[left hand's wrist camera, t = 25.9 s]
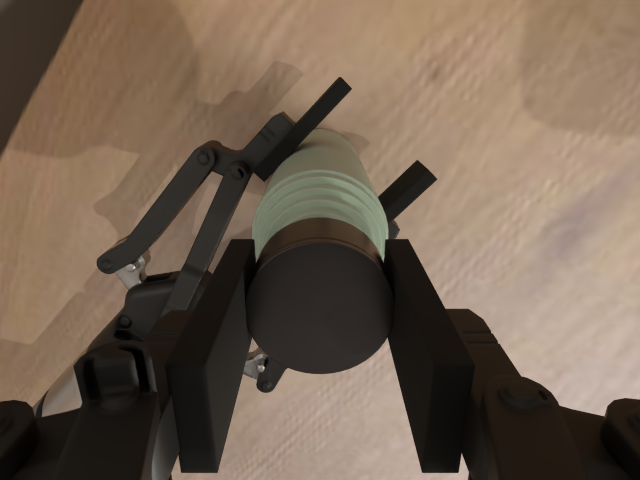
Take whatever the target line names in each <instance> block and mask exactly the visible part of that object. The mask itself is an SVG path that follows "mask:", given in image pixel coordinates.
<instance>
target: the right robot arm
mask: <svg viewBox="0 0 640 480" xmlns="http://www.w3.org/2000/svg"><path fill="white" fill-rule="evenodd" d="M351 89H352V88H351V87H350V86H349V85H348V84H347V83H346V82H345V81H344V80H343V79H342V78H341V77H339V78H338V79H337V80H336V81H335V82H334V83H333V84H332V85H331V86H330V87H329V88H328V90H327V91H326V92H325V93H324V94H323V95H322V96H321V97H320V98H319V99H318V100H317V101H316V102H315V104H314V105H313V106H312V107H311V108H310V109H309V110H308V111H307V112H306V113H305V114H304V115H303V117H302V118H301V119H300V120H299V121H298V122H297V123H295V122H294V121H293V120H292V119H291V118H290V117H289V116H288V115H287V114H286V113H285V112H281V113H279V114H277V115H275V116H273V117H272V118H271V119H270V121H269V122H268V123H267V124H266V125H265V126H264V127H263V128H262V129H261V131H260V132H259V133H258V134H257V135H256V136H255V137H254V138H253V139H252V141H251V142H250V143H249V144H248V145H247V146H246V147H245V148H244V149H242V150H232V149H229V148H227V147H225V146H222V144H221V143H220V142H218V141H214V140H211V141H208V142H207V143H205V144H203V145H202V146H200V147H198V148H197V149H196V150H194V152H193V153H192V154H191V156H190V157H189V158H188V159H187V161H186V162H185V163H184V165H183V166H182V167H181V169H180V170H179V171H178V173H177V174H176V175H175V177H174V178H173V179H172V180H171V182H170V183H169V184H168V186H167V187H166V188H165V190H164V191H163V192H162V194H161V195H160V196H159V197H158V199H157V200H156V201H155V203H154V204H153V205H152V207H151V208H150V209H149V211H148V212H147V213H146V215H145V216H144V217H143V218H142V220H141V221H140V222H139V224H138V225H137V226H136V228H135V229H134V230H133V232H132V233H131V234H130V235H128V236H127V237H125V238H123V239H121V240H120V241H118V242H117V243H116V244H115V245H113V246H112V247H111V248H110V249H108V250H107V251H106V252H105V253H104V254H102V255H101V256H100V257H99V258H98V259H97V267H98V268H99V270H100V271H102V272H103V273H106V274H112V273H114V272H115V273H116V275H117V276H118V277H119V278H120V280H121V281H122V282H123V283H124V285H125V286H126V287H127V288H128V292H127V294H126V298H125V305H124V307H123V309H122V310H121V311H120V312H119V313H118V314H117V315H116V316H115V317H114V318H113V320H112V321H111V322H110V323H109V324H108V325H107V326H106V327H105V328H104V329H103V330H102V331H101V333H100V334H99V335H98V336H97V337H96V338H95V339H94V340H93V341H92V343H91V344H90V345H89V347H88V348H86V349H85V350H84V351H83V352H82V353H81V355H80V356H79V357H78V358H77V359H76V360H75V361H74V362H73V363H72V364H71V365H70V366H69V367H68V368H67V369H66V371H65V372H64V373H63V374H62V375H61V376H60V377H59V378H58V379H57V380H56V381H55V382H54V383H53V384H52V386H51V387H50V389H49V390H48V391H47V392H46V393H45V395H44V396H43V397H42V398H41V399H40V400H39V401H38V402H37V403H36V404H35V405H34V406H33V407H32V408H33V411H34V414H35V418H40V417H44V416H49V415H53V414H58V413H62V412H67V411H70V410H74V409H77V408H80V407H81V404H82V399H81V395H80V391H79V387H78V383H77V379H76V375H75V371H74V367H73V365H74V364H75V363H76V362H77V360H78V359H79V358H80V357H81V356H83V355H84V354H85V353H87V352H88V351H90V350H91V349H94V348H96V347H98V346H101V345H103V344H106V343H110V342H115V341H120V340H134V341H138V342H143V341H144V339H145V338H146V336H147V335H149V332H150V330H151V329H152V327H153V326H154V324H155V323H156V321H157V320H158V319H160V318H161V317H163V316H164V315H165V314H167V313H168V312H170V311H171V310H194V309H195V307H196V305H197V303H198V301H199V299H200V297H201V296H202V294H203V292H204V290H205V288H206V286H207V284H208V282H209V281H210V279H211V277H212V275H213V274H212V273H211V272H209V271H208V268H209V266H210V264H211V262H212V260H213V257H214V255H215V252H216V250H217V248H218V246H219V244H220V242H221V240H222V237H223V235H224V233H225V231H226V229H227V227H228V225H229V222H230V220H231V218H232V216H233V214H234V212H235V210H236V207H237V205H238V203H239V201H240V199H241V197H242V195H243V192H244V190H245V188H246V186H247V184H248V182H249V180H250V177H251V175H252V174H253V173H255V174H256V175H257V176H258V177H259V178H261V179H262V180H263V181H264V182H265V180H266V179H267V178H268V177H269V176H270V175H271V174H272V173H273V172H274V171H275V170H276V169H277V168H278V167H279V166H280V165H281V163H282V162H283V161H284V160H285V159H286V158H287V157H288V156H289V155H290V154H291V153H292V152H293V151H294V150H295V149H296V148H297V147H298V146H299V144H300V143H301V142H302V141H303V140H304V139H305V138H306V137H307V136H308V135H309V134H310V133H311V132H312V131H313V130H314V129H315V127H316V126H317V125H318V124H319V123H320V122H321V121H322V120H323V119H324V118H325V117H326V116H327V115H328V114H329V113H330V112H331V111H332V109H333V108H334V107H335V106H336V105H337V104H338V103H339V102H340V101H341V100H342V99H343V98H344V97H345V96H346V95H347V94H348V93H349V91H350V90H351ZM212 171H213V172H215V173H218V174H220V175H222V176H223V179H222V181H221V183H220V185H219V188H218V190H217V192H216V194H215V197H214V199H213V201H212V203H211V206H210V208H209V210H208V212H207V215H206V217H205V219H204V221H203V224H202V226H201V228H200V230H199V233H198V235H197V237H196V239H195V242H194V244H193V246H192V248H191V251H190V253H189V255H188V257H187V260H186V262H185V264H184V266H183V267H182V269H181V271H175V272H169V273H163V274H157V275H150V276H146V274H145V267H146V265H147V264H148V263H149V262H150V259H151V257H150V251H149V250H148V248H149V247H150V246H151V245H152V244H153V243H154V242H155V241H156V240H157V239H158V238H159V237H160V236H161V235H162V233H163V232H164V231H165V230H166V228H167V227H168V226H169V225H170V223H171V222H172V221H173V220H174V218H175V217H176V216H177V214H178V213H179V212H180V211H181V209H182V208H183V207H184V206H185V204H186V203H187V202H188V201H189V199H190V198H191V197H192V196H193V194H194V193H195V192H196V190H197V189H198V188H199V187H200V185H201V184H202V183H203V182H204V180H205V179H206V178H207V177H208V175H209V174H210V173H211V172H212ZM436 180H437V178H436V177H435V176H434V175H433V174H432V173H431V172H430V171H429V170H428V169H427V168H426V167H425V166H424V165H423V164H421V163H420V162H419V161H418V160H417V161H416V162H415V163H413V164H412V165H411V166H410V167H409V168H408V169H407V170H406V171H405V172H404V173H403V174H402V175H401V176H400V177H399V178H398V179H397V180H396V181H394V182H393V183H392V184H391V185H390V186H389V187H388V188H387V189H386V190H385V191H384V192H383V193H382V194H381V195H380V196H379V197H378V199H379V201H380V203H381V205H382V207H383V210H384V212H385V215H386V219H387V223H388V239H395V238H396V237H397V235H398V233H399V231H400V229H399V227H398V225H397V223H396V222H395V221H394V219H395V218H396V217H397V216H398V215H399V214H400V213H401V212H402V211H403V210H404V209H406V208H407V207H408V206H409V205H410V204H411V203H412V202H413V201H414V200H415V199H416V198H418V197H419V196H420V195H421V194H422V193H423V192H424V191H425V190H426V189H427V188H428V187H430V186H431V185H432V184H433V183H434V182H435V181H436ZM286 369H287V367H285V366H283V365H281V364H279V363H278V362H276V361H275V360H273V359H271V358H270V357H269V356H268V355H267V354H265V353H264V352H263V351H262V349H261V348H260V347H258V348H257V349H256V350H255V351H253V352H248V356H247V359H246V363H245V367H244V371H243V374H245V375H247V376H250V377H252V378H254V379H257V384H256V385H257V388H258V390H260V391H261V392H265V393H267V392H271V391H272V390H273V389H274V388H275V386H276V385H277V383H278V381H279V380H280V378H281V376H282V375H283V373H284V371H285V370H286Z"/></svg>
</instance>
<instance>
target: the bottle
mask: <svg viewBox="0 0 640 480" xmlns="http://www.w3.org/2000/svg"><path fill="white" fill-rule="evenodd" d="M316 217H325V218H332V219H337V220H341V221H344V222H347V223H349V224H351V225H353V226H355V227H356V228H358V229H360V230H361V231H362V232H363V233H365V234H366V235H367V236H368V237H369V238H370V239H371V240H372V241H373V243H374V244H375V246H376V247H377V249H378V251H379V253H380V255H381V257H382V260H383V259H384V251H385V239H388V223H387V219H386V215H385V212H384V210H383V207H382V205H381V203H380V201H379V199H378V197H377V195H376V192H375V190H374V188H373V186H372V184H371V182H370V180H369V178H368V175H367V173H366V171H365V169H364V167H363V165H362V163H361V161H360V158H359V156H358V154H357V152H356V150H355V148H354V147H353V145H352V144H351V143H350V142H349V141H348V140H347V139H346V138H345V137H343V136H342V135H340V134H338V133H336V132H334V131H331V130H326V129H314V130H313V131H312V132H311V133H310V134H309V135H308V136H307V137H306V138H305V139H304V140H303V141H302V142H301V143H300V144H299V146H298V147H297V148H296V149H295V150H294V151H293V152H292V153H291V154H290V155H289V156H288V157H287V158H286V159H285V160H284V161H283V162H282V163H281V165H280V166H279V167H278V168H277V169H276V170H275V171H274V173H273V176H272V178H271V180H270V182H269V184H268V186H267V188H266V190H265V193H264V195H263V197H262V199H261V201H260V203H259V205H258V207H257V210H256V213H255V215H254V219H253V224H252V239H255V256H256V259H257V260H258V257H259V255H260V252H261V250H262V249H263V247H264V246H265V244H266V243H267V242H268V240H269V239H270V238H271V237H272V236H273V235H274V234H275V233H276V232H278V231H279V230H281V229H282V228H283V227H285V226H287V225H289V224H291V223H293V222H296V221H299V220H302V219H307V218H316Z"/></svg>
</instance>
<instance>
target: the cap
mask: <svg viewBox="0 0 640 480" xmlns="http://www.w3.org/2000/svg"><path fill="white" fill-rule="evenodd" d="M394 304H395V298H394V293H393V290H392V287H391V284H390V281H389V278H388V275H387V272H386V269H385V266H384V263H383V260H382V257H381V255H380V253H379V251H378V249H377V247H376V246H375V244H374V243H373V241H372V240H371V239H370V238H369V237H368V236H367V235H366V234H365V233H363V232H362V231H361V230H360V229H358V228H356V227H355V226H353V225H351V224H349V223H347V222H344V221H341V220H337V219H332V218H325V217H316V218H307V219H302V220H299V221H296V222H293V223H291V224H289V225H287V226H285V227H283V228H282V229H281V230H279V231H278V232H276V233H275V234H274V235H273V236H272V237H271V238H270V239H269V240H268V242H267V243H266V244H265V246H264V247H263V249H262V250H261V252H260V255H259V257H258V260H257V263H256V266H255V269H254V272H253V275H252V277H251V280H250V284H249V286H248V290H247V293H246V297H245V309H246V322H247V326H248V329H249V331H250V333H251V335H252V337H253V339H254V340H255V342H256V343H257V345H258V346H259V347H260V348H261V349H262V351H263V352H264V353H265V354H267V355H268V356H269V357H270V358H271V359H273V360H275V361H276V362H278V363H279V364H281V365H283V366H285V367H287V368H290V369H293V370H296V371H300V372H304V373H311V374H328V373H335V372H341V371H344V370H347V369H350V368H352V367H355V366H357V365H359V364H361V363H362V362H364V361H366V360H367V359H368V358H370V357H371V356H372V355H373V354H374V353H375V352H376V351H378V350H379V348H380V347H381V346H382V345H383V343H384V342H385V340H386V339H387V337H388V335H389V333H390V331H391V329H392V326H393V319H394Z"/></svg>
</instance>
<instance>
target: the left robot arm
mask: <svg viewBox="0 0 640 480" xmlns="http://www.w3.org/2000/svg"><path fill="white" fill-rule="evenodd" d="M255 266H256V256H255V239H231V241H230V243H229V245H228V247H227V249H226V251H225V252H224V254H223V256H222V258H221V260H220V262H219V264H218V266H217V267H216V269H215V271H214V273H213V275H212V277H211V279H210V281H209V282H208V284H207V286H206V288H205V290H204V292H203V294H202V296H201V297H200V299H199V301H198V303H197V305H196V307H195V309H194V310H171V311H170V312H168V313H167V314H165V315H164V316H163V317H161V318H160V319H158V320H157V321H156V323H155V324H154V326H153V327H152V329H151V330H150V332H149V335H147V336H146V338H145V339H144V341H143V342H138V341H134V340H120V341H115V342H110V343H106V344H103V345H101V346H98V347H96V348H94V349H91V350H90V351H88V352H87V353H85V354H84V355H83V356H81V357H80V358H79V359H78V360H77V362H76V363H75V364H74V365H73V367H74V371H75V375H76V379H77V383H78V387H79V391H80V395H81V399H82V404H81V407H80V408H77V409H74V410H70V411H67V412H62V413H58V414H53V415H49V416H44V417H40V418H35V414H34V411H33V408H32V407H31V406H30V405H29V404H28V403H26V402H22V401H17V400H11V401H2V402H0V480H172V476H171V472H172V470H173V467H174V464H175V461H176V459H177V456H178V455H179V461H180V468H181V473H218V469H219V465H220V461H221V457H222V453H223V449H224V445H225V441H226V437H227V434H228V430H229V426H230V422H231V418H232V414H233V410H234V406H235V402H236V398H237V395H238V391H239V387H240V383H241V379H242V375H243V371H244V367H245V363H246V359H247V356H248V352H249V348H250V344H251V340H252V335H251V333H250V331H249V329H248V326H247V322H246V309H245V297H246V293H247V290H248V286H249V284H250V280H251V277H252V275H253V272H254V269H255ZM384 266H385V269H386V272H387V275H388V278H389V281H390V284H391V287H392V290H393V293H394V298H395V304H394V319H393V326H392V329H391V331H390V333H389V335H388V341H389V345H390V349H391V353H392V357H393V361H394V364H395V368H396V372H397V376H398V380H399V384H400V388H401V392H402V396H403V400H404V404H405V407H406V411H407V415H408V419H409V423H410V427H411V431H412V435H413V439H414V443H415V446H416V450H417V454H418V458H419V462H420V466H421V470H422V473H458V472H459V466H460V459H461V453H462V455H463V457H464V460H465V463H466V465H467V468H468V471H469V476H468V480H640V400H638V399H629V398H624V399H618V400H614V401H613V402H612V403H610V404H609V405H608V407H607V410H606V413H605V416H600V415H595V414H591V413H586V412H582V411H577V410H572V409H569V408H566V407H562V406H559V404H558V402H557V400H556V399H555V397H554V396H553V394H552V393H551V392H550V391H549V390H547V389H546V388H545V387H543V386H542V385H541V384H539V383H537V382H535V381H533V380H530V379H528V378H525V377H521V375H520V374H519V372H518V371H517V369H516V368H515V366H514V365H513V363H512V362H511V360H510V359H509V357H508V356H507V354H506V353H505V351H504V350H503V348H502V347H501V345H500V344H498V341H497V339H496V338H495V336H494V335H493V334H491V330H490V329H489V327H488V326H487V324H486V323H485V321H484V320H483V319H482V318H481V317H479V316H478V315H476V314H475V313H474V312H472V311H471V310H469V309H445V307H444V305H443V304H442V302H441V300H440V298H439V296H438V294H437V292H436V290H435V289H434V287H433V285H432V283H431V281H430V279H429V277H428V275H427V274H426V272H425V270H424V268H423V266H422V264H421V262H420V260H419V259H418V257H417V255H416V253H415V251H414V249H413V247H412V246H411V244H410V242H409V240H408V239H385V251H384Z"/></svg>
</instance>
